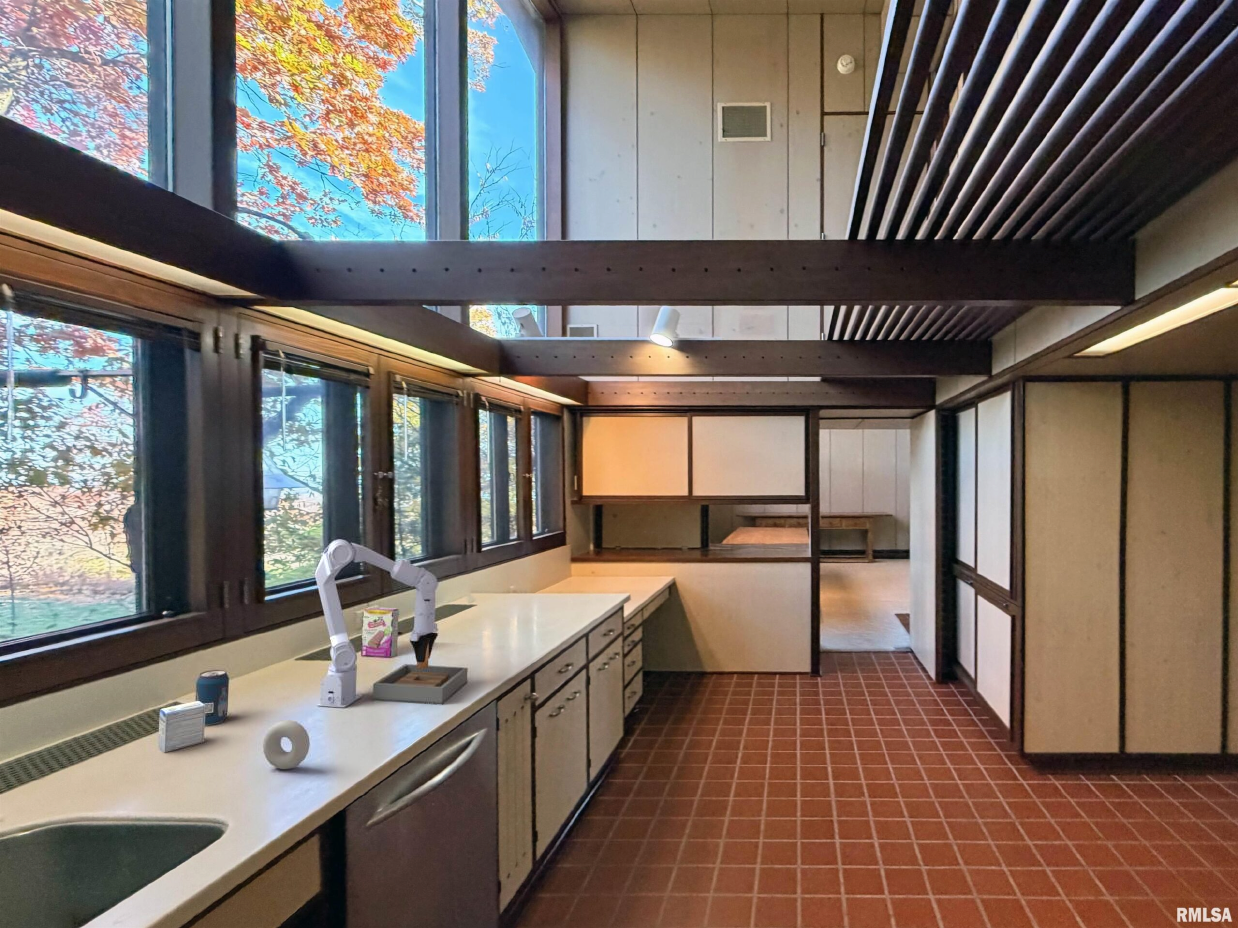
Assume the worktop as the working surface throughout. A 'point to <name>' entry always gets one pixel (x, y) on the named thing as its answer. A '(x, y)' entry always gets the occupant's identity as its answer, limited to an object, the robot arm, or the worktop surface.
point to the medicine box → (181, 726)
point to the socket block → (424, 679)
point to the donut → (275, 750)
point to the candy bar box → (379, 632)
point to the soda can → (213, 695)
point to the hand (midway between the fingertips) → (423, 660)
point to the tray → (416, 693)
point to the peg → (425, 663)
